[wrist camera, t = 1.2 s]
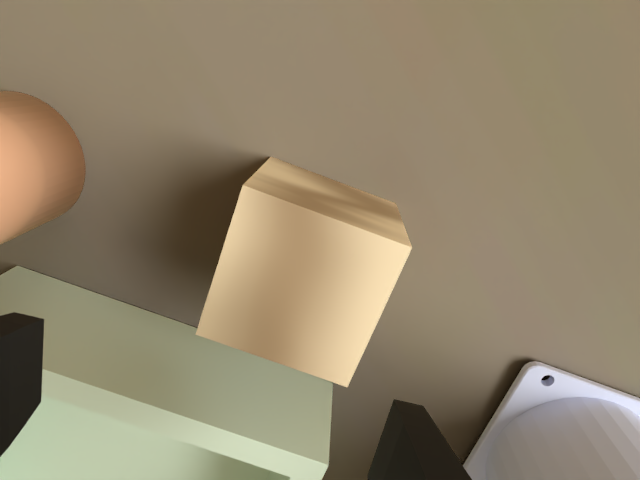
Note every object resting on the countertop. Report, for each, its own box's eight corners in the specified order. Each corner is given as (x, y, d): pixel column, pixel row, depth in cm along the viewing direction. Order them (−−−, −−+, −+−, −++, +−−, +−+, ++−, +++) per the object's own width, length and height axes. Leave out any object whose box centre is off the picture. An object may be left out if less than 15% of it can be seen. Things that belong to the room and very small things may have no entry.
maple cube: (395, 203, 18) (411, 247, 13) (347, 312, 20) (347, 387, 15) (271, 156, 18) (242, 184, 13) (233, 271, 19) (195, 334, 15)
